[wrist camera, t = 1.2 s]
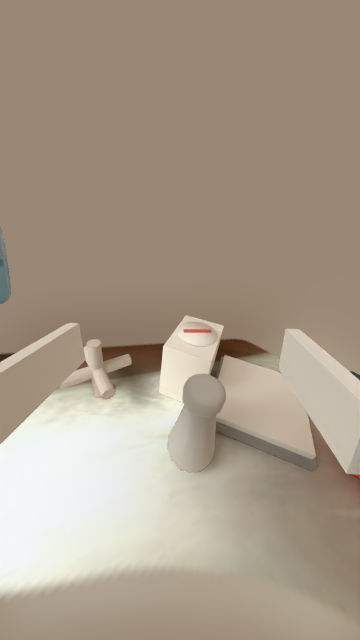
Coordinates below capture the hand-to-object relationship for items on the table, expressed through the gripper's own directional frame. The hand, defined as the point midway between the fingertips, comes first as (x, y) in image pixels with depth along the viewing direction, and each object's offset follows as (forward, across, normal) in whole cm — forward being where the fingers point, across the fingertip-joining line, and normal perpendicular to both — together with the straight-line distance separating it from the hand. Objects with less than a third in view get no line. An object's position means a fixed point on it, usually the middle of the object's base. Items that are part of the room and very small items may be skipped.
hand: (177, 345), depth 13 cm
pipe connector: (+14, -14, -16) cm, 26 cm away
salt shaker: (+7, 0, -20) cm, 21 cm away
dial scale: (+18, +7, -18) cm, 27 cm away
